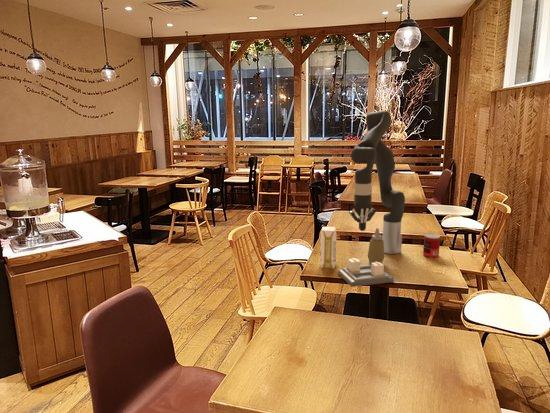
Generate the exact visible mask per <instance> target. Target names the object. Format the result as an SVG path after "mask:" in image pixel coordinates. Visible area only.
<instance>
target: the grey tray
mask: <svg viewBox="0 0 550 413" xmlns="http://www.w3.org/2000/svg"><path fill="white" fill-rule="evenodd" d="M337 274H338V276H340V278H342V279H343V280H344V281H345V282H346V283H347V284H348V285H349V286H350V287H351V288H352V287H362V286H369V285H371V286H372V285H379V284H386V283H394V279H395V278H394V276H393V275H391V274H389V273H388V272H387V271H385V270H384V272H383V275H381V276H373V275H372V274H371V264H366V265H364V264H363V265H360V271H357V272H350V271H349V270H348V267H347V266H346V267H345V266H344V267H342V268H341V269H338V270H337Z"/></svg>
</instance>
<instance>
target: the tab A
mask: <svg viewBox="0 0 550 413" xmlns="http://www.w3.org/2000/svg"><path fill="white" fill-rule="evenodd" d="M347 266H348V270H349V271H350V272H357V271H360V266H361V260H360V259H358V258H354V257H351V258H349V259H348V262H347Z"/></svg>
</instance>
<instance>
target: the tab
mask: <svg viewBox="0 0 550 413" xmlns="http://www.w3.org/2000/svg"><path fill="white" fill-rule="evenodd" d="M370 265H371V274H372V275H373V276H381V275H383V272H384V271H385V265H384V264H383V262H382V263H380V262H377V261H376V262H375V263H371V264H370Z"/></svg>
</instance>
